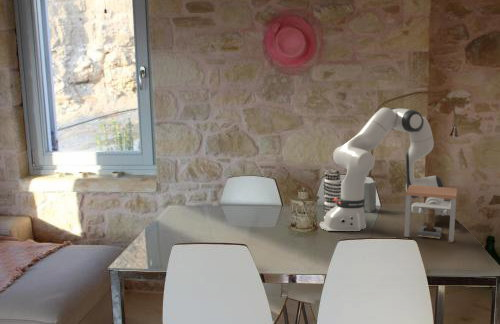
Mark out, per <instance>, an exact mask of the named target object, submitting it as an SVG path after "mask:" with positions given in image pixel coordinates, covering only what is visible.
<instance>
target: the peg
mask: <svg viewBox="0 0 500 324" xmlns="http://www.w3.org/2000/svg"><path fill="white" fill-rule="evenodd" d="M435 217H436V215H435V210H434V209H427V214H426V221H425V222H426V225H425V226H426V231H429V232H434V227H435V219H436V218H435Z"/></svg>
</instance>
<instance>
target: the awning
mask: <svg viewBox="0 0 500 324" xmlns="http://www.w3.org/2000/svg"><path fill="white" fill-rule="evenodd" d="M457 191H458V188H456V187H455V188H454V187H445V186H444V187H431V186H417V185H409V187H408V189H407V191H406V190H405V212H404V234H403V235H404V236H409V237H410V229H411V227H410V226H411V208H412V197H411V196H422V197H424V198H425V197H426V198H427V197H434V198H444V199H446V200H447V199H448V200H449V199H450V201H451V212H450V215H449V230H448V231H449V234H448V241H449V240H450V241H455V226H456V225H455V224H456V212H457V211H456V210H457V209H456V208H457V193H458V192H457ZM442 232H443V227H439V226H436V227H435V226H434V232H429V231H426V225H419V226H418V230H417V235H422V236H434V237H441V238H442V234H443V233H442ZM441 233H442V234H441ZM404 236H403V237H404Z"/></svg>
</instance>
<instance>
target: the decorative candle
mask: <svg viewBox="0 0 500 324" xmlns="http://www.w3.org/2000/svg"><path fill="white" fill-rule="evenodd" d="M341 182H342V180H341V172H340V171H339V170H338V169H335V168H334V169H332V168H331V169H327V170H326V171H325V172H324V182H323V189H324V190H323V196H324V204H323V209H324V210H323V219H325V215H326V213H327V212H328V211H330V210H331V209H332V208H334V207H335V206H336V205H337V202H335V201H334V199H335V198H337V199H339V198H340V197H341Z"/></svg>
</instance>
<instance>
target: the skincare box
mask: <svg viewBox="0 0 500 324" xmlns="http://www.w3.org/2000/svg"><path fill="white" fill-rule="evenodd" d="M364 199H365V208H364V212H367V213H371V212H374V211H375V210H377V181H375V180H365V185H364Z"/></svg>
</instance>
